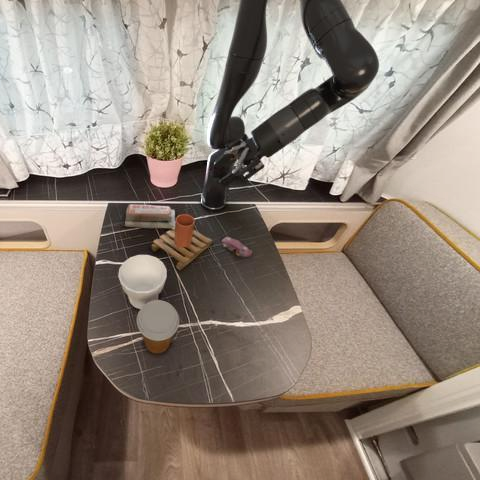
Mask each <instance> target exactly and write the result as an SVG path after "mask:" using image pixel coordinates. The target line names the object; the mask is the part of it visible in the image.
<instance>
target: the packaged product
mask: <svg viewBox="0 0 480 480" xmlns="http://www.w3.org/2000/svg"><path fill="white" fill-rule="evenodd" d="M175 222H176V210H175V209H172V207H171V206H168V205H153V204H152V205H151V204H132V203H131V204H130V203H129V204H128V205H127V208H126V209H125V220H124V226H125V227H128V228H129V227H131V228H132V227H133V228H143V229H169V230H172V228H173V227H174V226H175Z"/></svg>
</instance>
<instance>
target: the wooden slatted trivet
mask: <svg viewBox="0 0 480 480" xmlns="http://www.w3.org/2000/svg"><path fill="white" fill-rule="evenodd" d="M174 233H175V226H174V227H173V228H172V229H169V230H168V231H166V232H165V233H163V234H162V235H160V236H159V238H156V239H154V240H153V243H152V244H151V250H152V251H153V252H157V251H159V250H160V249H161V250H163V251H165V253H167V254H168V255H169V256H171V257H172V258H174V259H175V260H176V261H178V262H177V263H176V268H175V269H177V270H178V271H182V270H183V269H184V268H185V267H186V266H187V265H189V264H190V263H192V261H193V260H194V259H196V258H197V257H198V256H199V255H201V254H202V253H203V252H204V251H205V250H206V249H207V248H209V247H210V246H211V245H212V242H213V239H212V238H210V237H207V236H205V235H203V234H202V233H200V232H199V231H197V230H195V229H194V231H193V237H192V243H191V245H190V246H188V247H179V246H177V245H176V244H175V243H174ZM178 252H179V253H178Z"/></svg>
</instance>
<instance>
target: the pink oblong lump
mask: <svg viewBox="0 0 480 480" xmlns="http://www.w3.org/2000/svg"><path fill="white" fill-rule="evenodd" d="M221 244H222V246H223V248H226V249H227V250H229V251H230V252H234V251H235V250H236V251H235V252H234V253H235V254H236V256H238V257H243V258H250V257H251V256H252V254H253V250H252V249H250V248H249V247H247V246H246V245H245V244H243V243H242V242H241V241H240V240H238V239H235V238H232V237H230V236H225V237H224V238H223V239H222V240H221Z"/></svg>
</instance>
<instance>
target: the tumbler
mask: <svg viewBox="0 0 480 480" xmlns="http://www.w3.org/2000/svg"><path fill="white" fill-rule="evenodd" d="M195 225H196V220H195V218H194V217H193V216H192V215H190V214H188V213H183V214H179V215H177V216H176V217H175V233H174V239H173V241H174V243H175V244H176V245H177V246H179V247H183V248H186V247H188V246H190V245H191V244H193V243H192V237H194V236H193V231H194V230H195Z"/></svg>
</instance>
